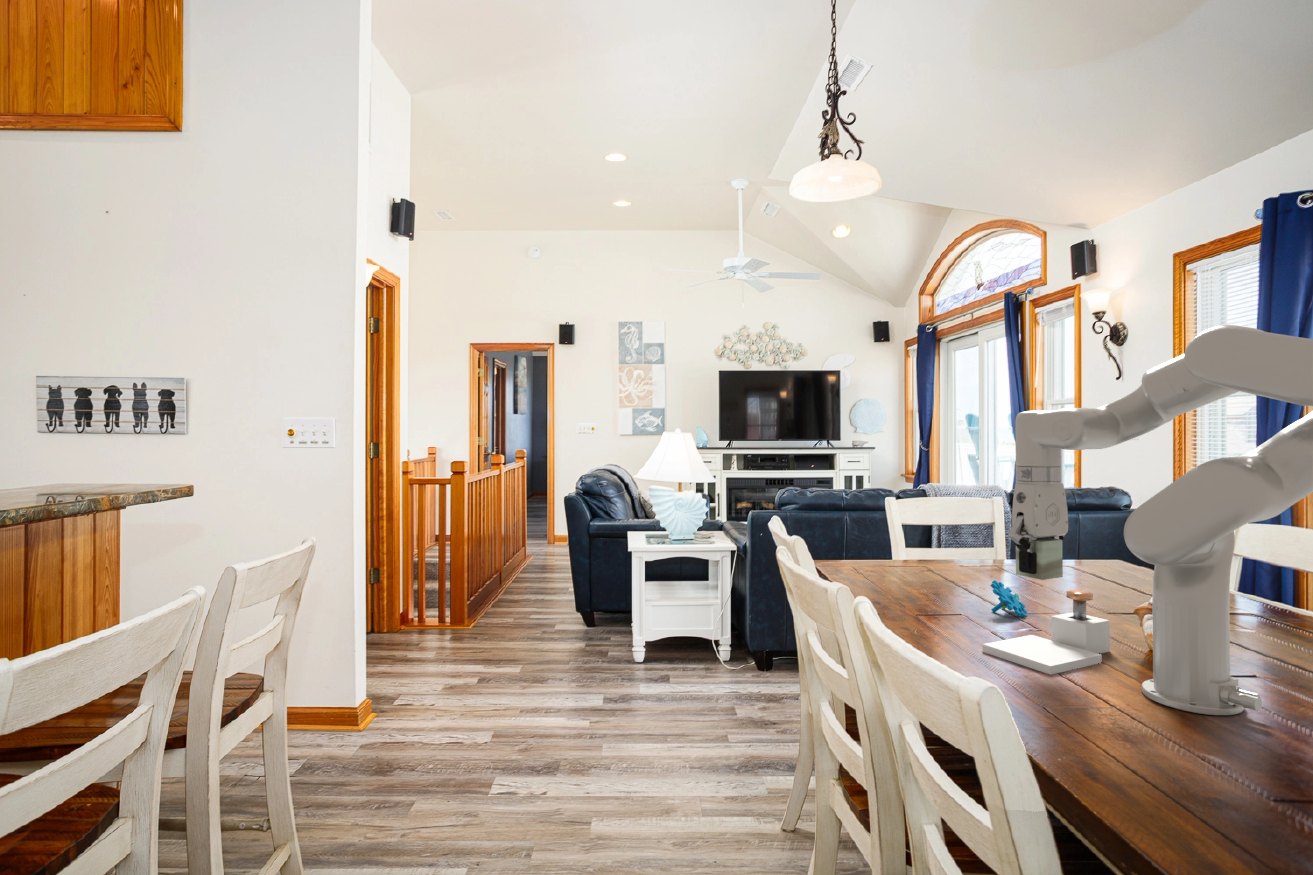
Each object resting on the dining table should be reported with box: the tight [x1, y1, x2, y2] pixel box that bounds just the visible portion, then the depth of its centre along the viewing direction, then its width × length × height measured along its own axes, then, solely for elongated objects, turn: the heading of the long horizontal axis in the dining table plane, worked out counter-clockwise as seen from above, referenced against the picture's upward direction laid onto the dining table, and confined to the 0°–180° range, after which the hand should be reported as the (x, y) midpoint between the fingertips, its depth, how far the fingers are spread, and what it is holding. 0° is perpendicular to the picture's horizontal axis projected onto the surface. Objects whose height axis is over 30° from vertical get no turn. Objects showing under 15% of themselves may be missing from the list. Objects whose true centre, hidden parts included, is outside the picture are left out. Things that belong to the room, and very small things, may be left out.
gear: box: [989, 579, 1029, 618], centre depth 158 cm, size 11×6×10 cm
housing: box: [1015, 537, 1064, 581], centre depth 127 cm, size 6×6×7 cm
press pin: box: [1065, 589, 1094, 621], centre depth 131 cm, size 4×4×6 cm
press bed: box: [982, 611, 1111, 675], centre depth 128 cm, size 14×22×6 cm, turn 114°
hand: (1039, 570), depth 127 cm, fingers closed on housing, 5 cm apart
